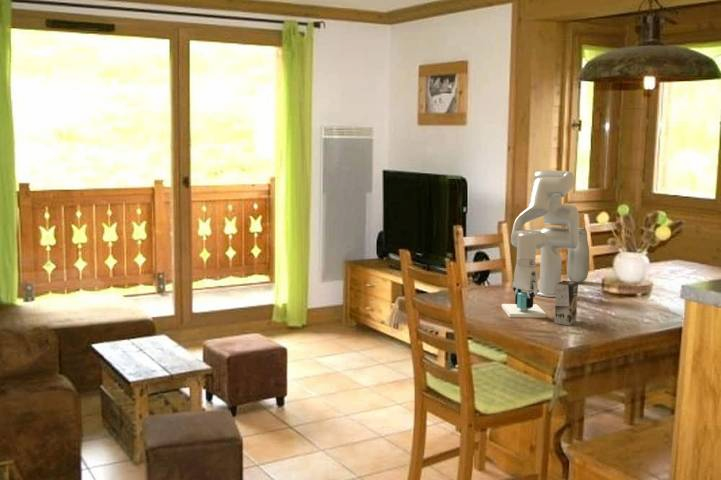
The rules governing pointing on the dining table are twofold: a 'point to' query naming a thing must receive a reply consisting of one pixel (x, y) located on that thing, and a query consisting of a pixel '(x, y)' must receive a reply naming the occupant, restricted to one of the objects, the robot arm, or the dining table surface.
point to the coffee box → (566, 302)
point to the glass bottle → (579, 259)
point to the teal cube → (522, 300)
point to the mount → (524, 311)
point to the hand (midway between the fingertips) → (524, 305)
